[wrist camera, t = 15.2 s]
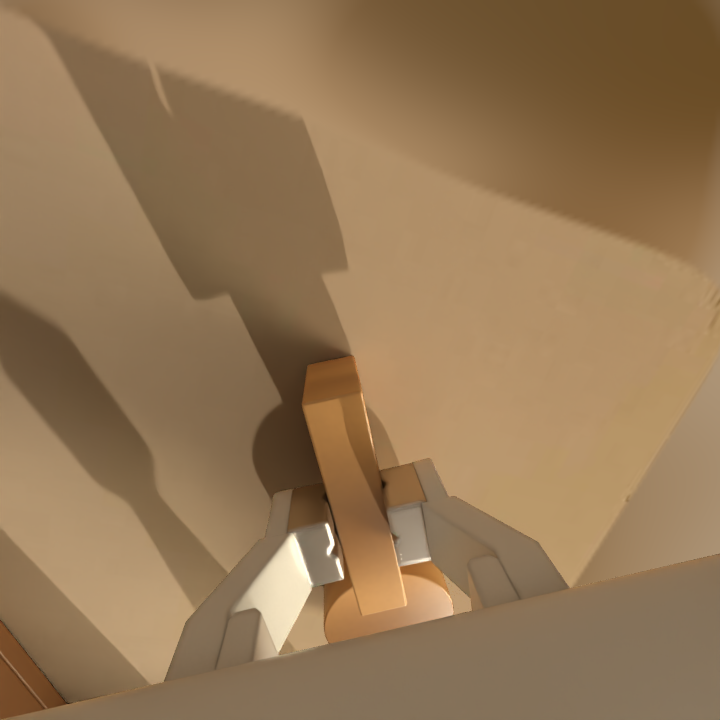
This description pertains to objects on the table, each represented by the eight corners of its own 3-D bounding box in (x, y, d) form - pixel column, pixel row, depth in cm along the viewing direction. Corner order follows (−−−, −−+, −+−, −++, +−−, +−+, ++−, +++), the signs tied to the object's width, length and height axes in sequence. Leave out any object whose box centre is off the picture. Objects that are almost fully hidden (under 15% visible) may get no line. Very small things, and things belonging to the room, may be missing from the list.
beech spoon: (255, 375, 10) (234, 418, 8) (404, 343, 10) (427, 376, 8) (338, 631, 14) (340, 714, 12) (446, 606, 14) (470, 684, 12)
